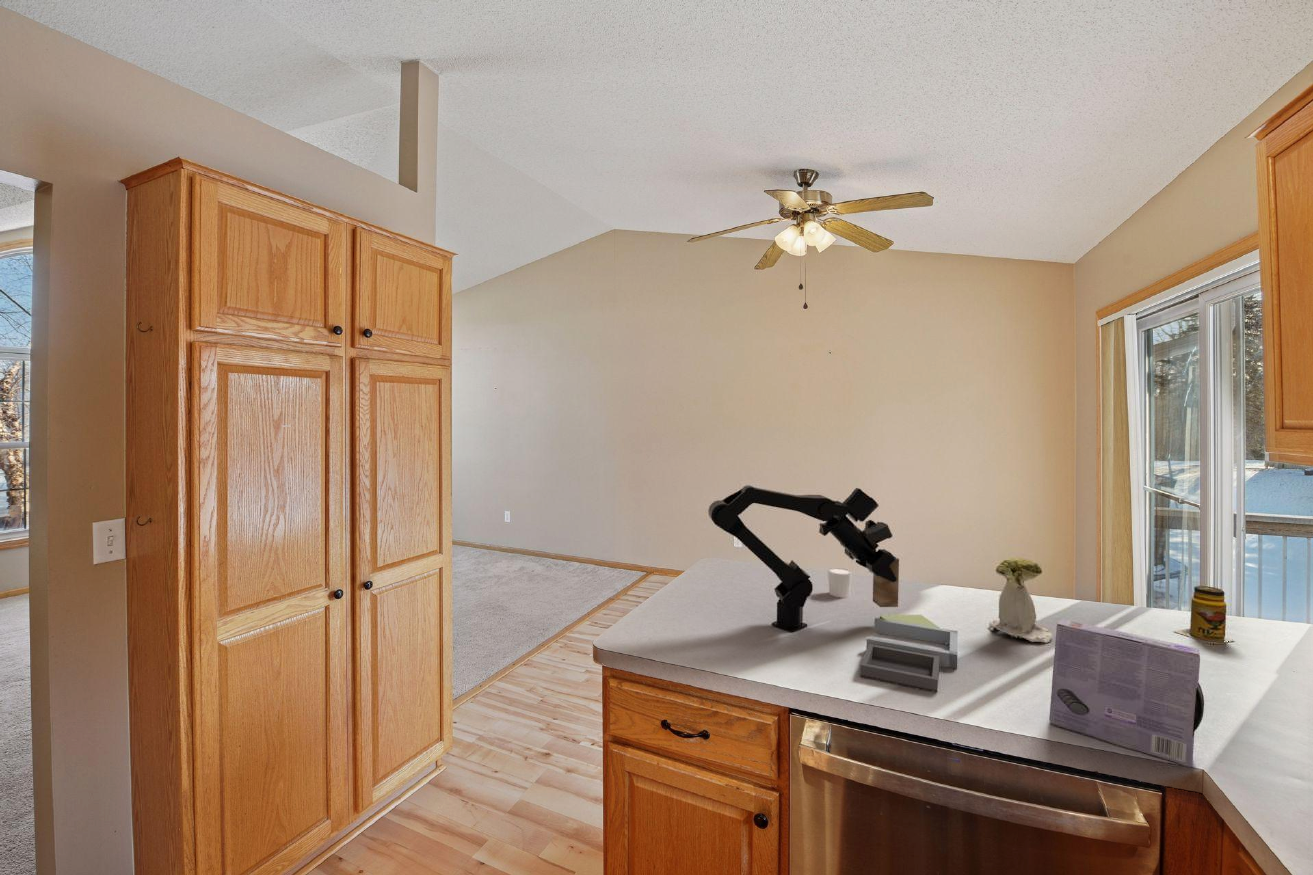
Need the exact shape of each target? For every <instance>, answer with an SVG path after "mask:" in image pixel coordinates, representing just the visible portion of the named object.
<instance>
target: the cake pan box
mask: <svg viewBox="0 0 1313 875" xmlns="http://www.w3.org/2000/svg"><path fill="white" fill-rule="evenodd" d="M1054 642H1055V645H1054V655H1053V666H1052V680H1051V682H1052V683H1051V694H1050V707H1049V718H1048V719H1049V722H1050V723H1049V724H1050V725H1052V726H1056V727H1061V728H1064V729H1065V730H1068V731H1069V730H1070V731H1072V732H1075V733H1079V734H1082V735H1085V736H1089V737H1092V738H1095V739H1098V740H1100V741H1103V742H1106V743H1109V744H1112V745H1115V746H1119V747H1121V748H1124V749H1129V750H1131V751H1132V750H1133V751H1138V752H1141V753H1144V754H1148V755H1150V756H1154V757H1158V758H1161V759H1164V760H1167V761H1171V762H1174V763H1176V764H1180V765H1182V766H1185V767H1188V768H1192V766H1193V762H1194V750H1195V749H1194V746H1195V744H1194V743H1195V732H1196V731H1197V729H1198V728H1199V727H1200V725H1201V724H1202V721H1203V717H1204V712H1205V699H1204V698H1205V697H1204V694H1203V690H1202V687H1201V685H1200V683H1199V680H1200V669H1201V668H1200V667H1201V654H1200V650H1199V648H1197V647H1194V646H1188V645H1183V644H1179V643H1173V642H1169V641H1165V640H1160V639H1155V638H1151V637H1147V636H1143V635H1138V634H1133V633H1129V632H1126V631H1122V630H1121V631H1120V630H1116V629H1112V628H1106V627H1102V626H1101V627H1100V626H1095V625H1093V624H1086V623H1082V622H1079V621H1074V620H1069V619H1066V618H1065V619H1064V618H1060V619H1059V620H1058V622H1057V623H1056V631H1055V641H1054Z"/></svg>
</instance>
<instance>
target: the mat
mask: <svg viewBox="0 0 1313 875" xmlns="http://www.w3.org/2000/svg"><path fill="white" fill-rule="evenodd" d="M879 618H880V619H885V620H892V621H898V622H904V623H911V624H917V625H923V626H930V627H936V628H940V627H939V626H938V625H937V624H935V623H934V622H932V621H931V620H929V619H928V618H926V617H925V616H924V615H923V614H881V615H880V616H879Z"/></svg>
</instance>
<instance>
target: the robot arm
mask: <svg viewBox="0 0 1313 875" xmlns="http://www.w3.org/2000/svg"><path fill="white" fill-rule="evenodd" d="M753 504H757V505H763V506H768V507H774V508H778V509H784V510H790V511H794V512H799V513H801V514H804V515H806V516H808V517H811V518H813V519H816V520H819V521H822V523H819V529H818V530H819V531H818V532H819V534H820V535H821V536H823V537H826V536H827V535H828V534H829V533H830V535H832V536H833V537H834V538H835V540H837V541H838V542H839V543H840V544H839V545H841V547H842V548H844V554H845V555H846V556H847V557H848V558H849V559H850V560H852V561H854V560H855V563H856V564H858V565H860V566H861V567H864V568H865V569H867V570H868V572H869V573H870V574H872V575H873V574H874V575H876V576H880V577H882V578H885V579H887V580H889V581H892V582H895V581H896V580H897V578H896V577H895V575H894V573H893V571H892V570H891V568H890V565H891V564H892V563H893V562H894V561H895V559H896V558H897V557H896V556H894V554H892V553H891V552H890V551H888V550H886V549H884V548H881V549H877V548H878V547H879V546H880V545H879V543H881V542H883V541H886V540H887V539H892V538H893V533H892V532H891V529H890V526H889V524H888V523H885V522H883V521H877V522H875V521H874V520H872V519H867V518H868V517H869V516H871V514H873V512H874V511H875V510H876V509H877V508H879V504H878V502H876V500H875V499H874V498H873V497H871V496H870V495H868V494H867V493H865V492H864V491H863V490H862V489H861V488H859V487H856V488H855V489H854V490H853V491H852V492H851V493H850V495H849V496H848V497H847V498H846V499H844V501H842V502H841V501H839V500H833V499H831V498H829V497H826V496H825V495H821V494H801V495H800V494H791V493H785V492H781V491H776V490H775V491H774V490H772V489H771V490H770V489H764V488H760V487H754V486H753V485H745V486H743V487H742V488H741V489H739V490H738V491H736V492H734V493H732V494H729V495H727V496H726V497H725V498H723V499H721V500H718V499H717V500H716V501H715V500H714V501H713V502H712V503H711V504H710V506H709V507H708V511H707V512H708V517H709V518H710V519H711V521H712V522H713V524H714V525H715V526H717V527H718V528H719V529H721V530H722V531H725V532H726V533H728V534H729V535H731V536H733V537H735V538H736V539H737V540H738V541H739V542H741V543H742V544H743V545H744V546H745V547H746V548H747V549H748V550H749V551H750V552H751V553H753V555H755V556H756V558H758V559H759V560H760V561H761V562H762V563H763V564H765V566H767V567H768V568H769V569H770V570H771V571H772V572H773V573H774V574H775V575H776V577H777V578H778V580H779V581H780V582H779V584H777V586H776V587H774V592H775V593H774V594H775V596H776V597H777V598H778V600H777V602H776V620H775V621H773V622H771V626H774V627H777V628H779V629H782V630H785V631H788V632H791V633H792V632H797V631H798V630H801V629H803V628H807V627H808V623H806V622H803V620H804V618H803V614H804V607H805V604H806V602H807V599H808V598H809V597H810V596H811V594H812V592H813V586H814V585H813V582H812V581H811V580H810V578H811V576H810V575H809V574H808V573H807V572H806V571H805V569H803V568H801V567H800V566H799V565H798V564H797V563H796V562H795V561H794V560H793V559H792V560H790V562H788V563H787V562H786V561H784V560H783V559H782V558H781V557H779V555H778V554H776V553H775V552H774V551H773V550H772V549H771V548H770V547H769V546H768V545H767V544H766V543H764V542H763V540H761V539H760V538H759V537H758V536H757V535H756V534H755V533H754V532H752V531H751V530H750V529H749V528H748V527H747V526H746V525H745V523H744V522H743V520H742V519H741V518H740V517H739V515H741V514H743V512H744V511H746V510H747V509H748V508H749V507H750V506H751V505H753ZM848 517H849V518H848ZM866 519H867V521H866ZM853 521H854V522H855V523H857V522H858V521H859V522H860V523H863V522H864V523H865V527H864V529H863V530H861V529H860V528H859V527H858V526H857V525H855V523H854V522H853ZM823 522H824V523H823ZM895 557H896V558H895Z"/></svg>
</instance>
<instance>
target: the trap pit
mask: <svg viewBox="0 0 1313 875" xmlns="http://www.w3.org/2000/svg"><path fill="white" fill-rule="evenodd" d="M861 660H862V661H861V663H860V674H859V676H860V678H864V679H867V680H868V679H869V680H873V681H878V682H884V683H888V684H892V685H897V684H898V686H902V687H908V688H913V689H916V688H918V690H923V691H928V692H931V691H934V692H933V693H936V692H937V693H938V690H937V689H939V688H938V687H939V675H940V674H939V673H940V666H939V656H934V655H928V654H922V653H917V652H911V651H906V650H900V649H894V648H889V647H883V646H878V645H872V644H869V645H868V647H867V650H866V649H865V653H864V655H863V658H862V659H861Z"/></svg>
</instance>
